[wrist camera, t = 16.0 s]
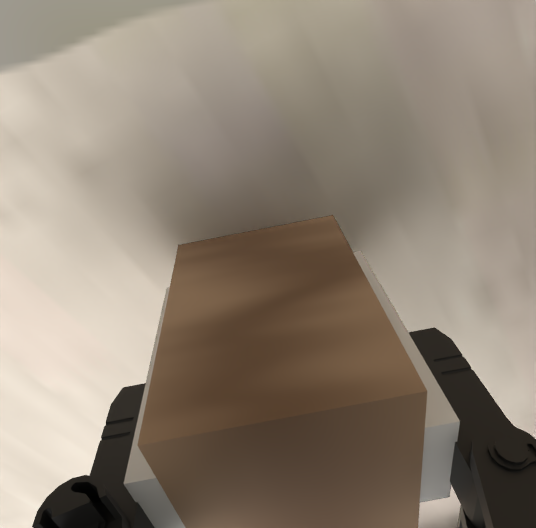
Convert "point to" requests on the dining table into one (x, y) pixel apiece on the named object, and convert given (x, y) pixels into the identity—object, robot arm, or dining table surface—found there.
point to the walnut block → (282, 388)
